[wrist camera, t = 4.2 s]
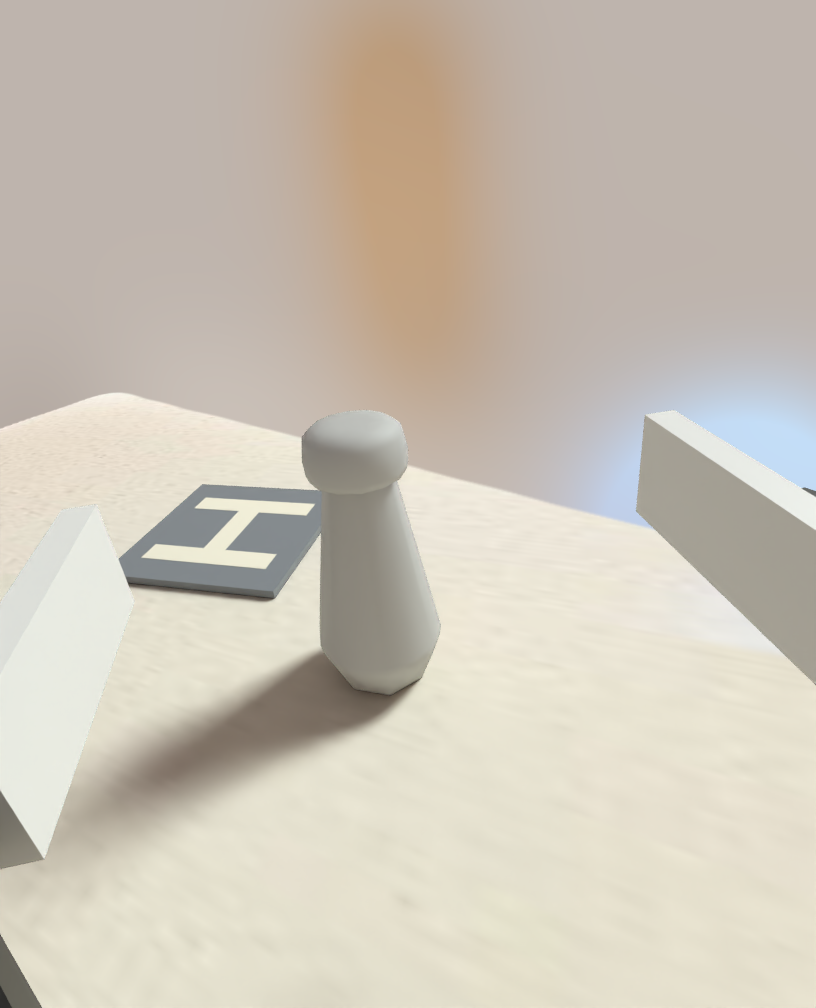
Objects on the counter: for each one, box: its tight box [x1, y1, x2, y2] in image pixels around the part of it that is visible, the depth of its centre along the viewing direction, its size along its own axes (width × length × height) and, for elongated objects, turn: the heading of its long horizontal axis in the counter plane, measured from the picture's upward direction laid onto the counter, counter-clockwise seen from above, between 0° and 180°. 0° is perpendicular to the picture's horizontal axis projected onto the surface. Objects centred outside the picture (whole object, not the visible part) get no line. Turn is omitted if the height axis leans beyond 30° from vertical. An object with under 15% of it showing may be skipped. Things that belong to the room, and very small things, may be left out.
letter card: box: [118, 484, 322, 598], centre depth 43 cm, size 12×12×1 cm
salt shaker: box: [302, 410, 441, 695], centre depth 28 cm, size 6×6×13 cm
